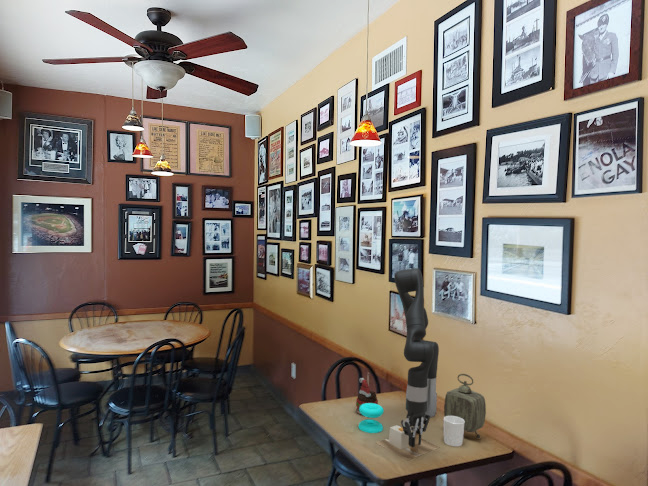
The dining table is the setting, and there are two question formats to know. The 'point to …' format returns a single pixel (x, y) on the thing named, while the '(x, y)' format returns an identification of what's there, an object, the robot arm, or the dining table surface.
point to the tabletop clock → (466, 406)
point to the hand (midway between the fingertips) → (414, 445)
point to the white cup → (453, 430)
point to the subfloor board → (406, 452)
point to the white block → (398, 437)
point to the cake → (365, 394)
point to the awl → (415, 449)
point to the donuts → (371, 412)
